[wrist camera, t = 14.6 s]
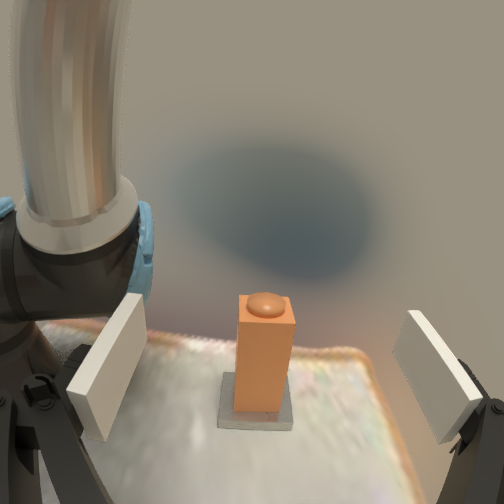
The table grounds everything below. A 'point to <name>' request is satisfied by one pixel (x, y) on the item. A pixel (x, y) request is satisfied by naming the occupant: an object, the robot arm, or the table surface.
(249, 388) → the orange capped block
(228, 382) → the junction plate
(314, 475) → the table surface
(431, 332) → the robot arm
